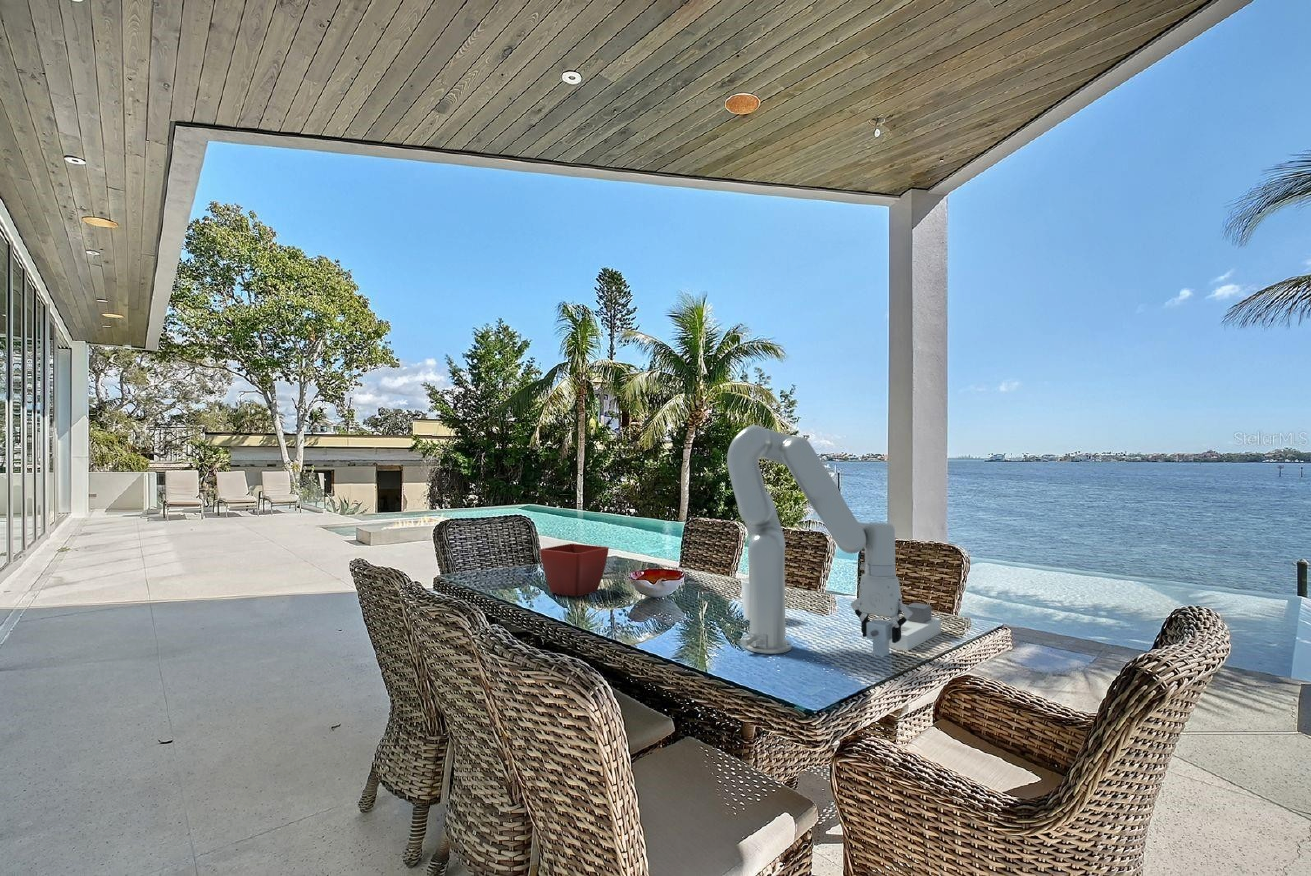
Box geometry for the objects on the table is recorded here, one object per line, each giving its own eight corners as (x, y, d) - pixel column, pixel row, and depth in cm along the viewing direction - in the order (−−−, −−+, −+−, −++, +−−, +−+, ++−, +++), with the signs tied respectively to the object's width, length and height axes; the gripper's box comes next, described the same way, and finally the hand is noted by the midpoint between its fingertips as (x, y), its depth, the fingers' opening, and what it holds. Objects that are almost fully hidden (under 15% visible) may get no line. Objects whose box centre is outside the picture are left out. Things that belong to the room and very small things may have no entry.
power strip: (907, 651, 173) (907, 632, 173) (878, 645, 178) (878, 627, 178) (941, 632, 190) (940, 615, 190) (913, 627, 196) (913, 611, 196)
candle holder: (777, 616, 210) (776, 579, 210) (765, 623, 201) (765, 584, 201) (748, 613, 215) (748, 576, 215) (736, 619, 206) (736, 581, 206)
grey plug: (882, 660, 165) (882, 627, 165) (864, 656, 169) (863, 624, 169) (895, 653, 171) (895, 621, 171) (877, 649, 174) (876, 618, 174)
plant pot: (610, 590, 251) (610, 546, 251) (578, 600, 235) (578, 553, 235) (571, 585, 261) (571, 543, 261) (538, 594, 245) (538, 549, 245)
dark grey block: (923, 638, 185) (923, 608, 185) (906, 634, 188) (905, 606, 188) (933, 632, 190) (933, 604, 190) (916, 629, 194) (916, 601, 194)
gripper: (842, 568, 174) (843, 635, 174) (907, 576, 162) (908, 648, 162) (855, 564, 180) (856, 629, 179) (919, 572, 168) (920, 642, 167)
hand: (881, 638), depth 170 cm, fingers open, 7 cm apart
